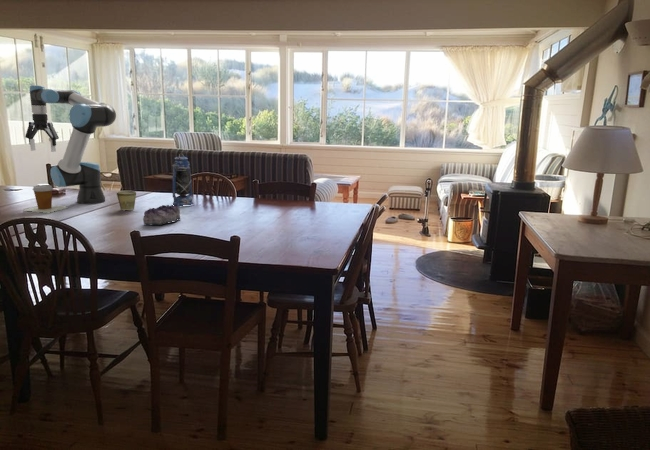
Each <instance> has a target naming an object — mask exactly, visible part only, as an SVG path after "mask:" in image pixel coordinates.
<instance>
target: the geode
mask: <svg viewBox="0 0 650 450" xmlns="http://www.w3.org/2000/svg"><path fill="white" fill-rule="evenodd" d="M143 213H144V214H143V217H142V220H143V224H159V225H158V226H162V225H161V224H163V225H164V223H165V224H169V223H168V222H172V221H176V222H177V221H178V220H177V219H180V220H181V211H180V208H179V207H178V205H177V204H174V206H173V205H172V204H171V205H169V204H166V205H163V204H162V205H159V206H158V207H156V208H154V207H152V208H151V207H150V208H148V209H147V210H145V211H144V212H143Z"/></svg>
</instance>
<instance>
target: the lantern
mask: <svg viewBox="0 0 650 450" xmlns="http://www.w3.org/2000/svg"><path fill="white" fill-rule="evenodd" d="M181 155H182V156H181ZM174 159H175V161H174V163H173V164H172V165H171V166H172V198H173V201H172V204H173V205H174V204H177V205H178V206H183V205H191V204H194V202H193V198H192V197H191V196H192V195H193V189H192V188H193V187H192V175H191V162H190V161H188V159H189V158H188V157H186V156H184V153H179V154H178V156H175V157H174ZM176 195H178V196H176Z"/></svg>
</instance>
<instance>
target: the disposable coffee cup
mask: <svg viewBox="0 0 650 450" xmlns="http://www.w3.org/2000/svg"><path fill="white" fill-rule="evenodd" d="M32 190H33V193H34V197H35V201H36V207H38V209H50V208H52V206H53V190H54V187H53V185H49V184H42V185H40V184H39V185H34V186H33V187H32Z"/></svg>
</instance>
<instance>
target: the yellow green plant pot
mask: <svg viewBox="0 0 650 450" xmlns="http://www.w3.org/2000/svg"><path fill="white" fill-rule="evenodd" d="M116 196H117V199H118V204H119V207H120V211H122V210H132V211H134V210H135V206H136V197H137V191H135V190H119V191H116ZM133 209H134V210H133Z"/></svg>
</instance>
